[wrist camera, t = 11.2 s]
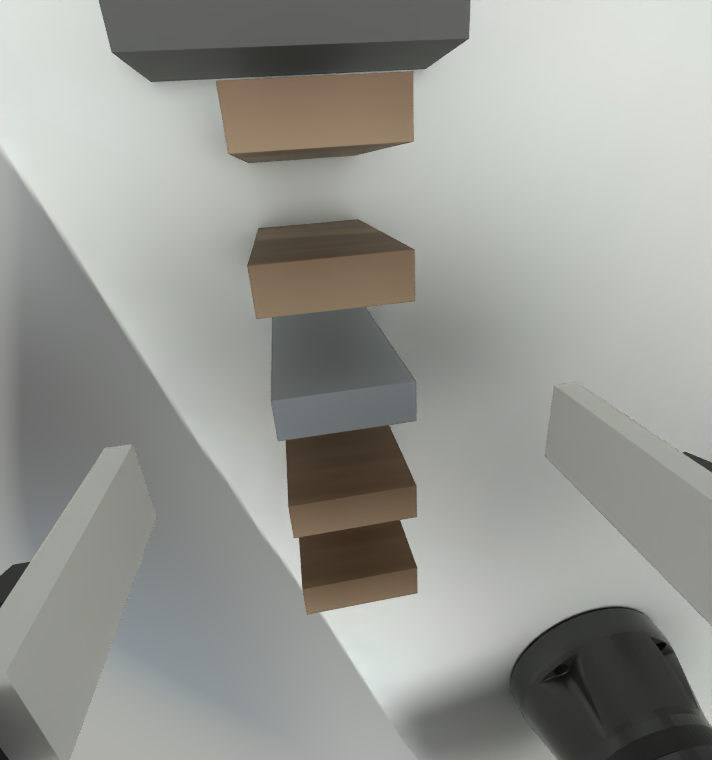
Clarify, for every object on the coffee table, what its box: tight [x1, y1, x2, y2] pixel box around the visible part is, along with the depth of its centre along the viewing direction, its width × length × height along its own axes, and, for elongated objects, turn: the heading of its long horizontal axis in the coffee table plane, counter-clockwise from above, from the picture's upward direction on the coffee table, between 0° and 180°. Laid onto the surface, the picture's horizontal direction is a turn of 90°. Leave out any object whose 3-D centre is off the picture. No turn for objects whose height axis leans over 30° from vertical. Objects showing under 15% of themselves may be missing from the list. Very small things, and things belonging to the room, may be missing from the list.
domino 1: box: [216, 71, 414, 163], centre depth 16 cm, size 2×5×10 cm, turn 94°
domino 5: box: [299, 520, 417, 615], centre depth 24 cm, size 2×5×10 cm, turn 94°
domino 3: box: [271, 307, 416, 441], centre depth 20 cm, size 2×5×10 cm, turn 94°
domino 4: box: [286, 425, 417, 538], centre depth 22 cm, size 2×5×10 cm, turn 94°
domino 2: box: [247, 220, 415, 319], centre depth 18 cm, size 2×5×10 cm, turn 94°
